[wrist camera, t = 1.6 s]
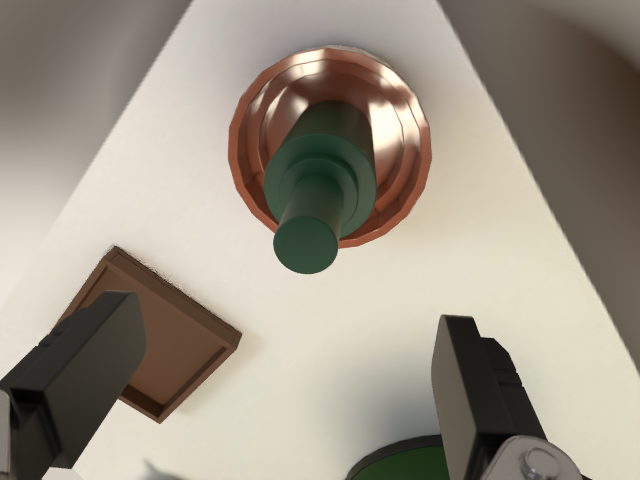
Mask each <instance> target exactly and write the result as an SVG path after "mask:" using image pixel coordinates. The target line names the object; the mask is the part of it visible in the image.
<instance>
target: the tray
mask: <svg viewBox="0 0 640 480" xmlns="http://www.w3.org/2000/svg"><path fill="white" fill-rule="evenodd" d="M105 290H116V291H130V292H136V293H137V294H138V296H139V299H140V303H141V308H142V314H143V319H144V324H145V329H146V334H147V349H146V353H145V356H144V359H143V361H142V362H141V364H140V365H139V367H138V369H137V370H136V372H135V373H134V375H133V376H132V378H131V379H130V381H129V382H128V384H127V385H126V387H125V388H124V390H123V391H122V393H121V394H120V396H119V397H118V399H119V400H121V401H123V402H124V403H126V404H127V405H129V406H131V407H132V408H134V409H136V410H137V411H139V412H141V413H142V414H144V415H146V416H147V417H149V418H151V419H152V420H154V421H155V422H157V423H159V424H161V423H162V422H163V421H164V420H165V419H166V418H167V417H168V416H169V415H170V414H171V413H172V412H173V411H174V410H175V409H176V408H177V407H178V406H179V405H180V404H181V403H182V402H183V401H184V400H185V399H186V398H187V397H188V396H189V395H190V394H191V393H192V392H193V391H194V390H195V389H196V388H197V387H198V386H200V385H201V384H202V383H203V382H204V381H205V380H206V379H207V378H208V377H209V376H210V375H211V374H212V373H213V372H214V371H215V370H216V369H217V368H218V367H219V366H220V365H221V364H222V363H223V362H224V361H225V360H226V359H227V358H228V357H229V356H230V355H231V354H232V353H233V352H234V351H235V350H236V349H237V347H238V344H239V342H240V339H241V336H242V334H241V333H239V332H238V331H236V330H235V329H233V328H232V327H231V326H229V325H228V324H226V323H225V322H223V321H222V320H220V319H219V318H218V317H216V316H215V315H213V314H212V313H210V312H209V311H208V310H206V309H205V308H203V307H202V306H200V305H199V304H198V303H196V302H195V301H193V300H192V299H190V298H189V297H188V296H186V295H185V294H183V293H182V292H180V291H179V290H178V289H176V288H175V287H173V286H172V285H170V284H169V283H168V282H166V281H165V280H163V279H162V278H160V277H159V276H158V275H156V274H155V273H153V272H152V271H150V270H149V269H148V268H146V267H145V266H143V265H142V264H140V263H139V262H138V261H136V260H135V259H133V258H132V257H130V256H129V255H128V254H126V253H125V252H123V251H122V250H120V249H119V248H118V247H116V246H115V247H114V248H113V249H112V250H111V251H109V252H108V253H107V254H106V255H105V256H104V257H103V258H102V259H101V261H100V262H99V264H98V265H97V267H96V268H95V269H94V271H93V272H92V274H91V275H90V277H89V278H88V279H87V281H86V282H85V284H84V285H83V286H82V288H81V289H80V291H79V292H78V294H77V295H76V296H75V298H74V299H73V301H72V302H71V304H70V305H69V306H68V308H67V309H66V311H65V312H64V314H63V315H62V316H61V318H60V319H59V321H58V322H57V324H56V325H55V326H54V328H55V327H56V326H57V325H58V324H59V323H60V322H61V321H62V320H63V319H64V318H66V317H67V316H69V315H71V314H73V313H74V312H76V311H78V310H79V309H81V308H83V307H88V306H89V305H90V304H91V303H92V302H93V301H94V300H95V299H96V298H97V297H98V296H99V295H100V294H101V293H102V292H103V291H105ZM54 328H53V329H54ZM53 329H52V330H53ZM49 335H50V334H49Z"/></svg>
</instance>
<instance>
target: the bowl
mask: <svg viewBox="0 0 640 480" xmlns="http://www.w3.org/2000/svg"><path fill="white" fill-rule="evenodd" d="M325 100H340V101H344V102H346V103H349V104H351V105H353V106H355V107H356V108H357V109H358V110H360V111H361V112H362V113H363V115H364V116H365V117H366V119H367V120H368V122H369V124H370V127H371V130H372V135H373V145H374V156H375V167H376V178H377V197H376V202H375V205H374V208H373V210H372V212H371V214H370V216H369V217H368V219H367V220H366V221H365V222H364V223H363V225H361V226H360V227H359V228H358V229H357V230H355V231H354V232H353V233H351V234H349V235H347V236H345V237H342V238H339V245H338V249H340V248H348V247H356V246H360V245H362V244H364V243H367V242H369V241H371V240H374V239H376V238H378V237H381V236H383V235H385V234H386V233H388V232H389V231H390V230H391V229H392V228H394V227H395V226H396V225H397V224H398V223H399V222H401V221H402V220H403V219H404V218H405V217H407V215H408V214H409V213H410V211H411V209H412V208H413V206H414V205H415V203H416V202H417V200H418V198H419V197H420V195H421V194H422V192H423V190H424V188H425V184H426V180H427V176H428V172H429V168H430V164H431V161H432V152H431V139H430V127H429V124H428V122H427V119H426V117H425V115H424V112H423V110H422V108H421V105H420V103H419V101H418V99H417V96H416V95H415V93H414V92H413V91H412V89H411V88H410V87H409V85H408V84H407V83H406V82H405V81H404V80H403V79H402V78H401V76H400V75H399V74H398V73H397V72H396V71H395V70H394V69H393V68H392V67H391V66H390V64H388V63H387V62H385V61H384V60H382V59H380V58H378V57H376V56H374V55H372V54H370V53H368V52H367V51H365V50H363V49H360V48H354V47H347V46H340V45H333V44H332V45H330V44H329V45H324V46H319V47H314V48H309V49H304V50H301V51H298V52H296V53H294V54H291V55H289V56H287V57H286V58H284V59H282V60H281V61H279V62H277V63H276V64H274V65H272V66H271V67H269V68H268V69H266V70H264V71H263V72H262V73H260V75H259V76H258V77H257V78H256V79H255V81H254V82H253V83H252V84H251V85H250V87H249V88H248V89H247V90H246V92H245V93H244V94H243V95H242V96H241V98H240V100H239V103H238V105H237V108H236V111H235V113H234V116H233V119H232V121H231V124H230V127H229V142H228V162H229V165H230V169H231V172H232V176H233V179H234V183H235V186H236V189H237V191H238V193H239V194H240V196H241V197H242V199H243V200H244V202H245V203H246V205H247V206H248V208H249V210H250V211H251V213H252V214H253V215H254V216H255V217H256V218H258V219H259V220H260V221H261V222H262V223H263V224H265V225H266V226H267V227H268V228H269V229H270V230H271V231H273V232H274V233H276V230H277V228H278V226H279V222H278V221H277V220H276V219H275V217H274V216H273V215H272V213H271V211H270V209H269V207H268V205H267V202H266V199H265V195H264V176H265V172H266V169H267V166H268V164H269V162H270V160H271V158H272V157H273V155H274V154H275V152H276V151H277V149H278V148H279V146H280V145H281V143H282V142H283V140H284V139H285V137H286V136H287V135H288V133H289V132H290V130H291V129H292V127H293V126H294V124H295V123H296V121H297V120H298V118H299V117H300V115H301V114H302V113H303V112H304V111H305V110H306V109H307V108H309V107H310V106H312V105H313V104H316V103H318V102H321V101H325Z"/></svg>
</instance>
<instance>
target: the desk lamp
mask: <svg viewBox="0 0 640 480" xmlns="http://www.w3.org/2000/svg"><path fill="white" fill-rule="evenodd" d="M346 480H450V476H449V471H448V466H447V460H446V455H445V450H444V445H443V440H442V435H436V436H426V437H420V438H415V439H410V440H406V441H401V442H398V443H395V444H393V445H390V446H387V447H384V448H382V449H379V450H378V451H376V452H374V453H372V454H371V455H369V456H367V457H365V458H364V459H363V460H361V461H360V462H359V463H358V464H357V465H356V466H355V467H354V468H352V470H351V472H350V473H349V475H348V477H347V478H346Z"/></svg>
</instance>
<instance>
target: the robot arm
mask: <svg viewBox="0 0 640 480" xmlns="http://www.w3.org/2000/svg"><path fill="white" fill-rule="evenodd" d="M146 349H147V334H146V329H145V324H144V319H143V314H142V308H141V303H140V299H139V296H138V294H137V293H136V292H130V291H116V290H105V291H103V292H102V293H101V294H100V295H99V296H98V297H97V298H96V299H95V300H94V301H93V302H92V303H91V304H90V305H89V306H88V307H83V308H81V309H79V310H78V311H76V312H74V313H73V314H71V315H69V316H67V317H66V318H64V319H63V320H62V321H61V322H60V323H59V324H58V325H57V326H56V327H55V328H54V329H53V330H52V331H51V332H50V335H47V336H46V337H45V338H43V339H42V340H41V341H40V342H39V345H38V346H35V347H34V348H33V349H32V350H31V351H30V352H29V353H28V354H27V355H26V356H25V357H24V358H23V359H22V360H21V361H20V362H19V363H18V364H17V365H16V366H15V367H14V368H13V369H12V370H11V371H10V372H9V373H8V374H7V375H6V376H5V377H4V378H3V379H2V380H1V381H0V480H42V477H43V476H44V475H45V473H46V472H47V470H48V469H49V467H57V468H66V469H72V467H73V466H74V464H75V463H76V461H77V460H78V458H79V457H80V455H81V454H82V452H83V450H84V449H85V447H86V446H87V444H88V443H89V441H90V440H91V438H92V437H93V435H94V434H95V432H96V431H97V429H98V428H99V426H100V425H101V423H102V422H103V420H104V419H105V417H106V416H107V414H108V413H109V411H110V409H111V408H112V406H113V405H114V403H115V402H116V400H117V399H118V397H119V396H120V394H121V393H122V391H123V390H124V388H125V387H126V385H127V384H128V382H129V381H130V379H131V378H132V376H133V375H134V373H135V372H136V370H137V369H138V367H139V365H140V364H141V362H142V361H143V359H144V356H145V353H146ZM431 380H432V388H433V393H434V398H435V403H436V408H437V414H438V419H439V424H440V429H441V434H442V440H443V445H444V450H445V455H446V460H447V466H448V471H449V476H450V480H592V479H590V478H588V477H586V476H584V475H582V474H581V473H580V471H579V469H578V468H577V466H576V464H575V463H574V462H573V461H572V459H571V458H570V457H569V456H568V455H567V454H566V453H565V452H563V451H562V450H561V449H559V448H558V447H557V446H555V445H553V444H552V443H550V442H548V440H547V438H546V436H545V433H544V431H543V429H542V427H541V424H540V422H539V420H538V418H537V415H536V413H535V411H534V409H533V406H532V404H531V402H530V400H529V398H528V395H527V393H526V391H525V389H524V387H522V382H521V380H520V377H519V375H518V373H516V368H515V366H514V364H513V362H512V359H511V357H510V355H509V353H508V352H507V351H506V350H505V349H504V348H503V347H502V346H501V345H500V344H499V343H498V342H497V341H496V340H495V339H494V338H484V337H480V334H479V331H478V329H477V326H476V323H475V321H474V319H473V317H472V316H458V315H443V314H442V315H441V317H440V320H439V325H438V330H437V336H436V341H435V347H434V353H433V358H432V366H431Z"/></svg>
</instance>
